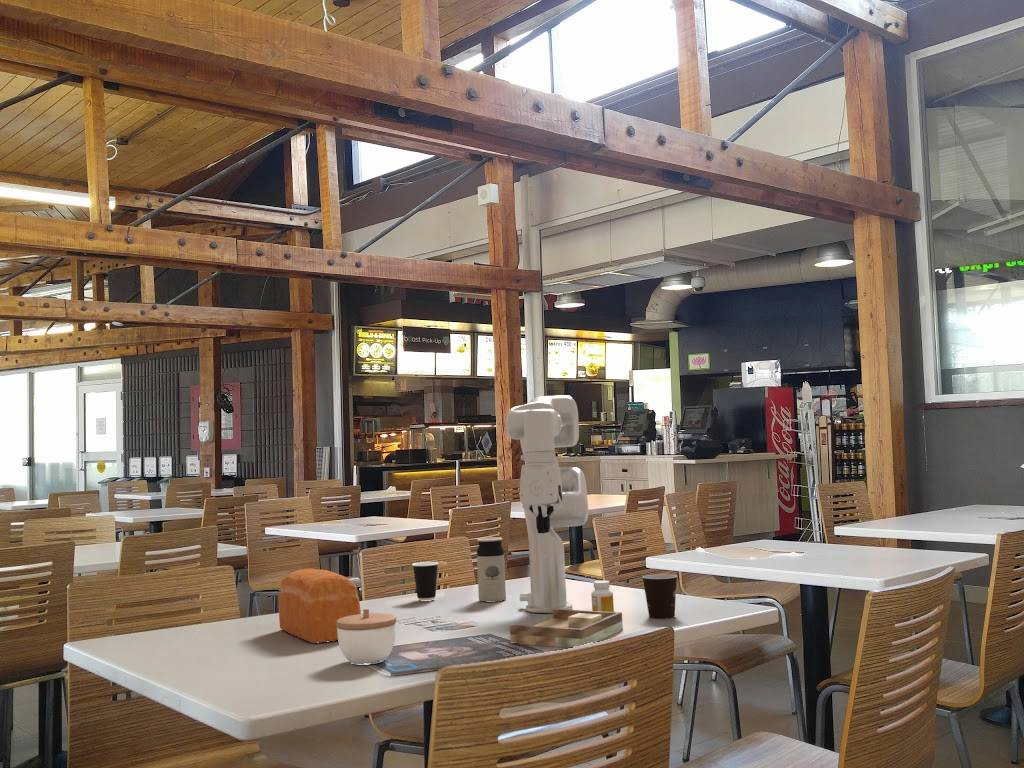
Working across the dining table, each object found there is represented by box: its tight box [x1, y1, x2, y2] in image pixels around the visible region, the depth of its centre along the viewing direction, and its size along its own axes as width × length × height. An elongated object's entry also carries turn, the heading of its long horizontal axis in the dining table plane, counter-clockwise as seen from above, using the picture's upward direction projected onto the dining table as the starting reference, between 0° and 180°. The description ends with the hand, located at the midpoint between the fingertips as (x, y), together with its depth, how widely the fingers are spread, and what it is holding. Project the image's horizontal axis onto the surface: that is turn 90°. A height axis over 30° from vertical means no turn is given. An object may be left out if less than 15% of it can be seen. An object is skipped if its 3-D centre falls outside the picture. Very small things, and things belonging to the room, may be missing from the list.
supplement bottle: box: [591, 580, 615, 612], centre depth 232 cm, size 5×5×10 cm
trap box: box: [509, 609, 624, 649], centre depth 215 cm, size 18×22×4 cm
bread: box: [278, 568, 362, 644], centre depth 232 cm, size 14×26×16 cm, turn 32°
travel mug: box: [476, 536, 507, 602], centre depth 273 cm, size 8×8×18 cm
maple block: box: [568, 613, 602, 629], centre depth 212 cm, size 6×5×3 cm
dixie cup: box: [411, 561, 439, 601], centre depth 278 cm, size 8×8×11 cm
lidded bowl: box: [336, 608, 397, 664], centre depth 197 cm, size 13×13×11 cm
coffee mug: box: [642, 573, 678, 620], centre depth 236 cm, size 12×9×10 cm
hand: (543, 532), depth 231 cm, fingers closed
